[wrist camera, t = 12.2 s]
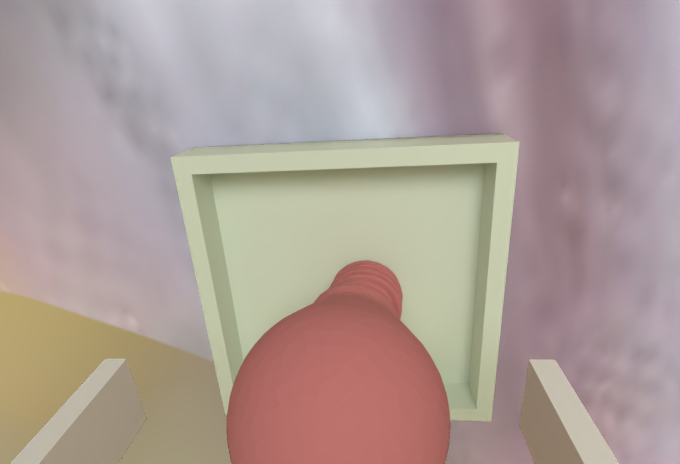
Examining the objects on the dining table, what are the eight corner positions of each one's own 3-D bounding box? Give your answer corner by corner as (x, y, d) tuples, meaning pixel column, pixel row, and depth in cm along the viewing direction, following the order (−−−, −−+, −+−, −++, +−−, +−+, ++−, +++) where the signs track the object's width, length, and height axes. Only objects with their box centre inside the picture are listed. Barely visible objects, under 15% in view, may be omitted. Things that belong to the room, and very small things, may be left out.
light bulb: (268, 285, 22) (135, 509, 11) (353, 191, 19) (293, 363, 8) (366, 361, 23) (336, 636, 12) (460, 283, 20) (533, 544, 9)
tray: (239, 382, 25) (224, 414, 23) (194, 147, 20) (170, 157, 17) (480, 387, 23) (491, 421, 21) (501, 133, 18) (519, 141, 16)
